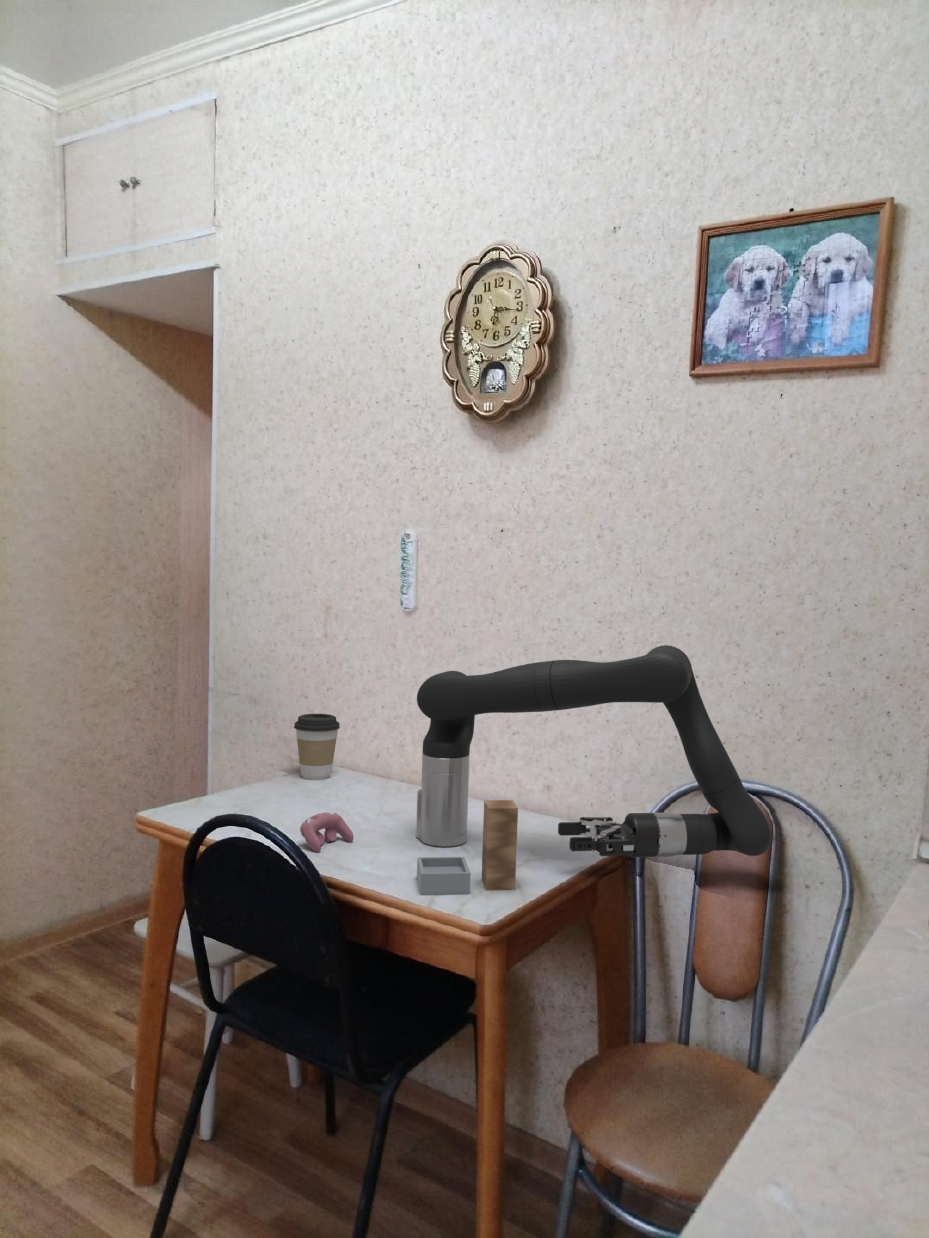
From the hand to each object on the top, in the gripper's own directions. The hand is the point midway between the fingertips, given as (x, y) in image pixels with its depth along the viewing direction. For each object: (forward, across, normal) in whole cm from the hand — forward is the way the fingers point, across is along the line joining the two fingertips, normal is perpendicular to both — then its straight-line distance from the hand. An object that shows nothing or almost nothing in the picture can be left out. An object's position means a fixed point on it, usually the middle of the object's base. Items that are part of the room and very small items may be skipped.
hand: (564, 836), depth 155 cm
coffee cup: (+45, -76, +8) cm, 88 cm away
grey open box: (+21, 0, +8) cm, 22 cm away
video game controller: (+41, -23, +8) cm, 47 cm away
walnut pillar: (+11, 0, +8) cm, 14 cm away
